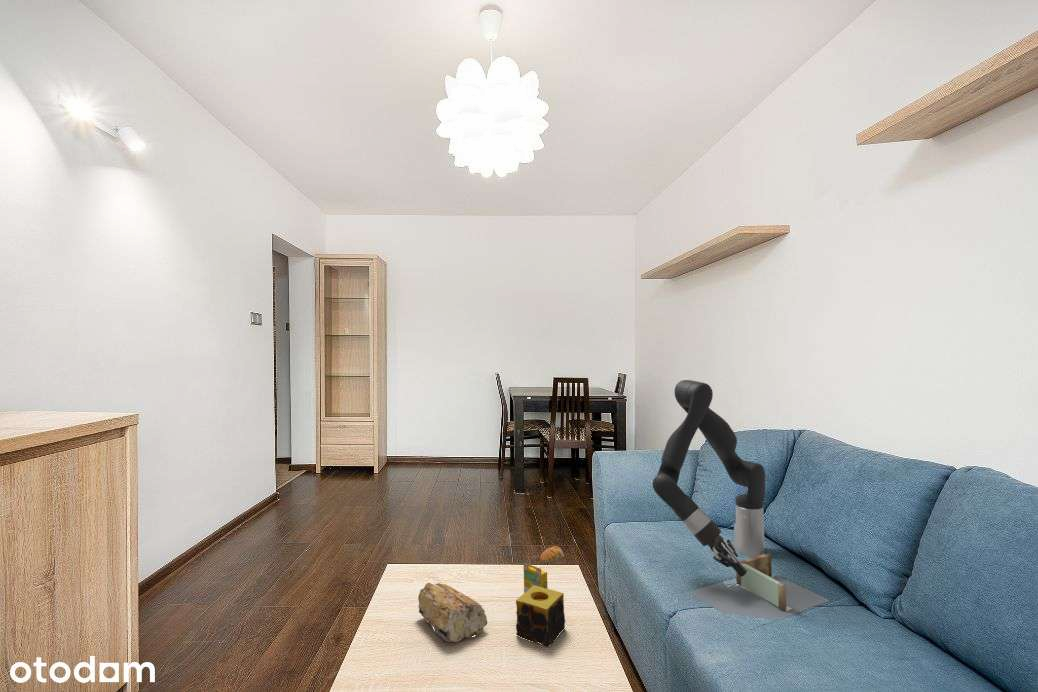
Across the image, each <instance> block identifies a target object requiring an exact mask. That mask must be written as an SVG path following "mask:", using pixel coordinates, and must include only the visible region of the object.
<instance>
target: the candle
mask: <svg viewBox="0 0 1038 692" xmlns="http://www.w3.org/2000/svg"><path fill="white" fill-rule="evenodd" d="M564 597H565V595H564V592H561V591H558V590H555V589H549V588H548V589H546V588H543V587H539V586H535V585H533V586H532V587H531V588H530V589H529V590H528V591H526V592H525V593H524V592H523V594H521V595H520V596H518V598H517V599H516V600H515V605H516V612H515V613H516V624H515V630H516V636H517V635H518V636H520V637H522V638H525V639H527V640H526V641H528V640H530V641H533V642H532V643H534V642H535V643H534V644H537V643H536V642H539V643H541V644H542V645H541V644H540V645H541V646H543V645H544V647H545V646H546V648H549V647H550V646H551V645H552V644H553V643H554V642H555V641H556V640H557V639H556V638H558V637H559V636H560V635H559V633H560V632H561V631H562V630H563V629H564V628H566V626H565V625H566V618H565V617H566V616H565V614H566V613H565V605H564V603H565V601H564ZM564 630H565V629H564ZM564 630H563V631H564ZM563 631H562V632H563ZM562 632H561V633H562ZM561 633H560V634H561ZM558 635H559V636H558ZM557 636H558V637H557ZM520 637H519V638H520ZM522 638H521V639H522ZM525 639H524V640H525ZM555 639H556V640H555ZM554 640H555V641H554ZM530 641H529V642H530ZM539 643H538V644H539ZM550 644H551V645H550ZM549 645H550V646H549Z"/></svg>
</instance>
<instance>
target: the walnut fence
mask: <svg viewBox="0 0 1038 692" xmlns="http://www.w3.org/2000/svg"><path fill="white" fill-rule="evenodd" d="M741 561H743V562H744V563H745V564H747V565H749V566H750V567H752V568H754V569H756V570H758V571H760V572H762V573H763V574H765V575H767V576H769V577H772V574H773V572H772V568H773V567H772V554H771V553H768V552H766V553H765V552H764V554H763V555H759V556H756V557H749V558H745V559H742V560H741Z"/></svg>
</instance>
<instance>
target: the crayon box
mask: <svg viewBox="0 0 1038 692" xmlns="http://www.w3.org/2000/svg"><path fill="white" fill-rule="evenodd" d="M533 585H535V586H539V587H543V588H546V589H549V588H548V572H547V571H545V570H542V568H539V567H537V566H534V565H531V564H529V563H526V562H523V594H524V593H525V592H526V591H528V590H529V589H530V588H531V587H532V586H533Z"/></svg>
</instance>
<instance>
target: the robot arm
mask: <svg viewBox="0 0 1038 692" xmlns="http://www.w3.org/2000/svg"><path fill="white" fill-rule="evenodd" d="M674 387H675V388H674V397H675V400H676V401H677V403H678V405H679V406H680V407H681V408H682V409H683V410H684V411H685V412H686V417H685V418H684V419H683V421H682V423H681V424H680V425H679V426H678V427H677V428H676V429H675V430H674V431H673V432H672V434H671V435H670V436H669V437H668V440H667V441H666V444H665V448H664V450H663V452H662V457H661V461H660V462H661V463H660V466H659V469H658V472H657V475H656V476H655V477H654V478H653V480H652V489H653V490H654V493H656V495H657V496H658V497H659V498H660V499H661V500H662V501H663V502H664V503H666V505H667V506H668V507H669V508H671V510H672V511H673V513H675V515H676V516H677V517H678V518H679V519H680V520H681V522H682V523H683V524H684V525H685V526H686V528H687V530H688V531H689V532H690V533H691V534H692V535H693V537H694V538H695V539H696V540H697V541H698V542H699V543H700V545H701V546H702V547H706V546H708V547H709V549H710V550H711V552H713V553H714V555H713V556H712V557H713V560H714V561H716V562H718V563H720V564H721V565H723V566H725V567H727V568H729V567H730V568H732V569H733V570H734V571H735V572H737V573H738V574H739V575H740V576H741V577H742V576H744V575H745V574H746V572H747V570H746V569H745V568H744V567H743V566H742V565H741V564H740V563H739V561H740V560H739V559H738V557H739V555H738V554H737V553H739V554H740V555H742V556H745V557H749V556H750V557H749V558H752V557H756V556H759V555H763V554H765V524H764V523H765V522H764V520H765V519H764V502H765V496H766V472H765V471H766V470H765V468H764V466H763V465H762V464H761V463H759V462H754V461H750V460H749V461H748V460H745V459H741V457H740V456H739V455H738V454H737V452H736V449H737V445H738V439H737V436H736V434H735V432H734V431H733V429H732V427H731V426H730V425H729V423H728V422H727V421H726V420H725V419H724V418H723V417H722V416H720V415H719V414H718V413H716V412H715V411H714V410H712V409H711V408H710V407H711V406H710V405H711V404H712V400H713V398H714V397H713V395H714V394H713V388H712V387H711V386H710V384H708V383H705V382H701V381H697V380H693V379H692V380H691V379H683V380H680V381H679V382H678V383H677V384H675V386H674ZM698 429H699V430H700V432H701V434H702V435H703V436H704V438H705V440H706V441H707V443H708V444H709V445H710V447H711V449H713V451H714V452H715V454H716V455H717V457H718V458H719V460H720V462H721V463H722V465H723V468H724V469H725V470H726V472H727V474H728V476H729V479H731V482H732V483H734V484H736V485H738V486H742V487H745V488H747V492H746V493H742V494H738V495H737V496H735V501H734V502H735V523H734V524H733V543H732V542H731V540H730V539H727V540H725V539H724V537H723V536H721V535H720V534H721V533H722V530H721V528H720V527H719V526H718V525H717V524H716V523H715V522H714V521H713V519H711V518H710V516H709V515H708V514H707V513H706V512H705V511H703V509H701V508H700V506H698V505H697V503H696V502H695V501H694V500H693V499H692V498H691V497H690V496H689V495H687V494H686V493H685V492H684V491H683V489H682V488H680V486H679V485H678V482H679V478H680V474H681V470H682V468H683V466H684V463H685V460H686V458H687V454H688V450H689V448H690V447H691V446H690V445H691V443H692V441H693V438H694V436H695V435H696V432H697V431H698ZM733 544H734V545H733Z"/></svg>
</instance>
